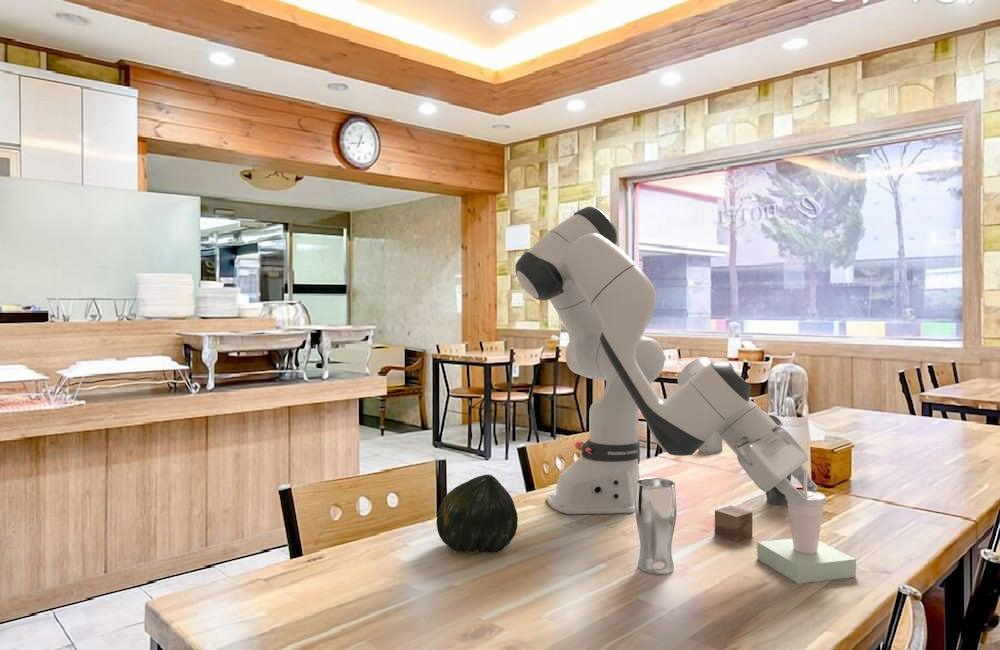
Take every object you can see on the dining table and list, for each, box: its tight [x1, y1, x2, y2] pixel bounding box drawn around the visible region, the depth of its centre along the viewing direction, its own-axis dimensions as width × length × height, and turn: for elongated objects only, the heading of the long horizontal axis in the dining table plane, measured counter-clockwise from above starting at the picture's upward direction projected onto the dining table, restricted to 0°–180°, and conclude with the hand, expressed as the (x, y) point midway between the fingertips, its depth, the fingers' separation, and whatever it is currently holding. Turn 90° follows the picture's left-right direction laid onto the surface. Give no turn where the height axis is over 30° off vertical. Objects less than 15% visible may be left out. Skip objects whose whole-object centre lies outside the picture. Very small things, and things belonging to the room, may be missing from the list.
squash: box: [436, 474, 519, 554], centre depth 124 cm, size 14×15×15 cm
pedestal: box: [756, 538, 857, 584], centre depth 114 cm, size 11×11×3 cm
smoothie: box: [785, 467, 827, 554], centre depth 114 cm, size 6×6×14 cm
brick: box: [714, 505, 754, 543], centre depth 130 cm, size 5×5×5 cm
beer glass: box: [634, 477, 678, 576], centre depth 114 cm, size 7×7×15 cm
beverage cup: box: [765, 474, 792, 506], centre depth 151 cm, size 7×7×20 cm
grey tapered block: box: [697, 431, 723, 454], centre depth 204 cm, size 4×7×10 cm, turn 125°
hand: (808, 497), depth 113 cm, fingers closed on smoothie, 6 cm apart
